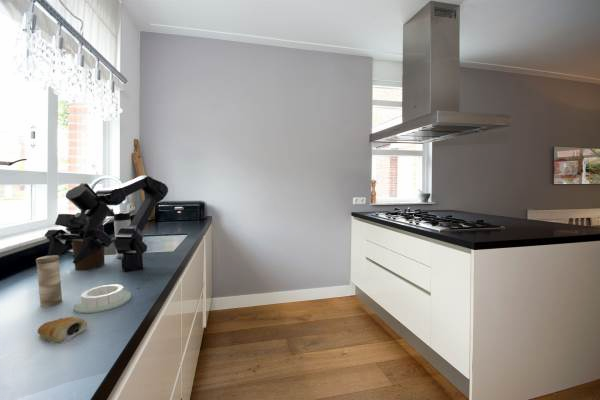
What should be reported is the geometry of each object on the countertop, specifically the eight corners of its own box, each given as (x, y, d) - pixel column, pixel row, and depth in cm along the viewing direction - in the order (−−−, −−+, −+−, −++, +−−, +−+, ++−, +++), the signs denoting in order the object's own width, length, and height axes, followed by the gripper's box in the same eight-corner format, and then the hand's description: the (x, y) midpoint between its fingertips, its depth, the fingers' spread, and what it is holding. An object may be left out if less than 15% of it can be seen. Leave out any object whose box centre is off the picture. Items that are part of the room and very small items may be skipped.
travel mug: (115, 259, 120) (112, 213, 118) (117, 256, 126) (114, 212, 124) (132, 257, 123) (129, 212, 121) (133, 254, 128) (130, 211, 127)
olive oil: (112, 262, 116) (108, 202, 114) (95, 270, 106) (90, 204, 104) (85, 262, 116) (80, 203, 114) (66, 271, 105) (60, 205, 103)
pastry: (27, 340, 59) (25, 323, 59) (61, 324, 66) (59, 309, 66) (60, 346, 57) (58, 328, 57) (91, 329, 64) (90, 313, 63)
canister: (63, 298, 80) (60, 254, 79) (61, 304, 77) (57, 258, 76) (41, 302, 78) (37, 257, 77) (38, 308, 74) (34, 261, 73)
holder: (129, 289, 86) (128, 278, 86) (132, 304, 76) (131, 292, 75) (76, 300, 79) (75, 288, 79) (71, 318, 68) (70, 305, 68)
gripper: (48, 203, 85) (8, 247, 75) (101, 203, 82) (67, 249, 72) (75, 224, 94) (42, 266, 84) (123, 225, 91) (95, 269, 80)
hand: (60, 262), depth 80 cm, fingers open, 9 cm apart
